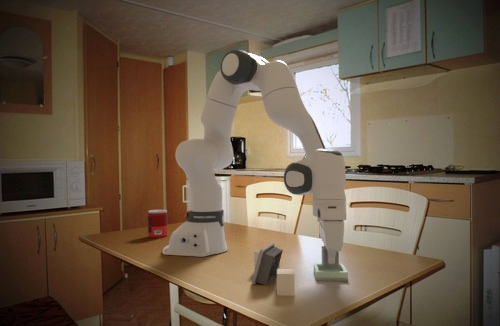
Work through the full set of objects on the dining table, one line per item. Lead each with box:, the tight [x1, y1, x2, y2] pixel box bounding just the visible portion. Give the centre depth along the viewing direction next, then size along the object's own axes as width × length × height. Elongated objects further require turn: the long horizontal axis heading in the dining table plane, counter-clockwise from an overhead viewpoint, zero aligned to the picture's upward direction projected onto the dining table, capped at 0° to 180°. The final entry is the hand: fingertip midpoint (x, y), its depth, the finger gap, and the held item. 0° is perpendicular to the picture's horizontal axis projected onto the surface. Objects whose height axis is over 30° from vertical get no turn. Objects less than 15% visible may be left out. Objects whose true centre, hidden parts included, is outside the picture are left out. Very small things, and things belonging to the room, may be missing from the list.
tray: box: [313, 263, 349, 282], centre depth 100 cm, size 8×8×2 cm
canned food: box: [147, 209, 168, 239], centre depth 157 cm, size 8×8×11 cm
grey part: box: [321, 245, 340, 269], centre depth 100 cm, size 4×4×5 cm
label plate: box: [253, 250, 281, 269], centre depth 104 cm, size 7×1×6 cm, turn 85°
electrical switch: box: [251, 242, 284, 286], centre depth 97 cm, size 9×5×9 cm, turn 158°
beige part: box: [276, 268, 296, 297], centre depth 88 cm, size 4×4×5 cm
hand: (329, 260), depth 100 cm, fingers closed on grey part, 4 cm apart
